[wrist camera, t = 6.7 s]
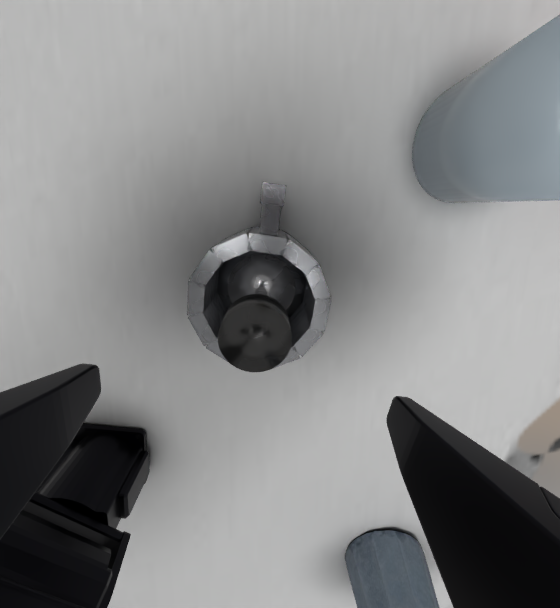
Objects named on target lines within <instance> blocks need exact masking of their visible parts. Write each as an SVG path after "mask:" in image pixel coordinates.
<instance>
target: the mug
mask: <svg viewBox="0 0 560 608" xmlns="http://www.w3.org/2000/svg"><path fill="white" fill-rule="evenodd" d="M412 161H413V168H414V171H415V175H416V177H417V179H418V181H419V183H420V185H421V186H422V188H423V189H424V190H425V191H426V192H427V193H428V194H429V195H431V196H432V197H434V198H436V199H438V200H440V201H444V202H449V203H471V202H510V201H548V200H560V15H558V16H557V17H555V18H554V19H552V20H551V21H549V22H548V23H546V24H545V25H543V26H542V27H540V28H539V29H537V30H536V31H534V32H533V33H532V34H530V35H529V36H527V37H526V38H524V39H523V40H521V41H520V42H518V43H517V44H515V45H514V46H512V47H511V48H509V49H508V50H506V51H505V52H503V53H502V54H500V55H499V56H497V57H496V58H494V59H493V60H491V61H490V62H488V63H487V64H485V65H484V66H482V67H481V68H479V69H478V70H476V71H475V72H473V73H472V74H470V75H469V76H468V77H466V78H465V79H463V80H462V81H460V82H459V83H457V84H456V85H454V86H453V87H451V88H450V89H448V90H447V91H445V92H444V93H443V94H441V95H440V96H439V97H438V98H437V99H436V100H435V101H434V102H433V103H432V104H431V106H430V107H429V108H428V110H427V111H426V112H425V114H424V116H423V118H422V119H421V121H420V124H419V126H418V128H417V131H416V134H415V138H414V142H413V150H412Z"/></svg>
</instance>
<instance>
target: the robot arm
mask: <svg viewBox="0 0 560 608" xmlns="http://www.w3.org/2000/svg"><path fill="white" fill-rule="evenodd" d="M100 392H101V383H100V373H99V368H98V366H96V365H92V364H79V365H76V366H73V367H71V368H68V369H65V370H62V371H59V372H57V373H54V374H51V375H48V376H45V377H43V378H40V379H37V380H34V381H31V382H29V383H26V384H23V385H20V386H17V387H15V388H12V389H9V390H6V391H3V392H1V393H0V608H107V607H108V604H109V602H110V599H111V596H112V593H113V590H114V587H115V584H116V581H117V577H118V574H119V571H120V568H121V564H122V561H123V558H124V555H125V552H126V548H127V545H128V542H129V539H130V535H131V534H129V533H127V532H125V531H124V532H121V531H119V530H117V529H116V528H117V526H118V523H119V521H120V519H121V518H127V517H128V516H129V515H130V513H131V511H132V508H133V506H134V504H135V502H136V500H137V498H138V495H139V493H140V491H141V489H142V487H143V485H144V484H145V482H146V480H147V476H148V474H149V453H148V451H147V449H146V432H145V431H144V430H143V429H135V428H124V427H112V426H101V425H89V424H83V422H84V421H85V419H86V417H87V416H88V414H89V412H90V411H91V409H92V407H93V406H94V404H95V402H96V401H97V399H98V397H99V395H100ZM387 426H388V430H389V433H390V437H391V440H392V444H393V447H394V451H395V454H396V458H397V461H398V465H399V468H400V471H401V474H402V477H403V479H404V482H405V485H406V487H407V490H408V492H409V495H410V498H411V500H412V503H413V505H414V508H415V510H416V513H417V515H418V518H419V520H420V523H421V526H422V528H423V531H424V533H425V536H426V538H427V541H428V543H429V546H430V549H431V551H432V554H433V556H434V559H435V561H436V564H437V566H438V569H439V571H440V574H441V577H442V579H443V582H444V584H445V587H446V589H447V592H448V594H449V597H450V600H451V602H452V605H453V607H454V608H560V498H558V497H557V496H555V495H554V494H552V493H550V492H549V491H548V490H546V489H545V488H543V487H539V485H538V484H537V483H535V482H534V481H533V480H531V479H530V478H528V477H527V476H525V475H524V474H522V473H521V472H519V471H518V470H516V469H515V468H513V467H512V466H510V465H509V464H507V463H506V462H504V461H503V460H501V459H500V458H498V457H497V456H495V455H494V454H492V453H491V452H489V451H488V450H486V449H485V448H483V447H482V446H480V445H479V444H477V443H476V442H474V441H473V440H471V439H470V438H468V437H467V436H465V435H464V434H462V433H461V432H459V431H458V430H457V429H455V428H454V427H452V426H451V425H449V424H448V423H446V422H445V421H443V420H442V419H440V418H439V417H437V416H436V415H434V414H433V413H431V412H430V411H428V410H427V409H425V408H424V407H422V406H421V405H419V404H418V403H416V402H415V401H413V400H412V399H410V398H408V397H401V396H396V397H394V398H393V400H392V403H391V406H390V409H389V412H388V415H387Z"/></svg>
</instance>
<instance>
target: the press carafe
mask: <svg viewBox="0 0 560 608" xmlns="http://www.w3.org/2000/svg"><path fill="white" fill-rule="evenodd" d="M285 192H286V185H280V184H274V183H267V182H263V183H262V192H261V201H260V203H262V211H261V220H260V227H254V228H253V227H251V228H249V229H247V230H244V231H242V232H240V233H237V234H235V235H232V236H230V237H228V238H226V239H224V240H223V241H221V242H220V243H218V244H217V245H215V246H214V247H212V248H211V249H210V250H209V251H208V252H207V254H206V255H205V257H204V258H203V259H202V261H201V262H200V264H199V265H198V267H197V268H196V270H195V271H194V273H193V274H192V275H191V277H190V278H189V279H190V280H189V281H188V305H187V315H190V316H189V317H188V319H189V320H190V322H191V324H192V326H193V328H194V329H195V331H196V333H197V335H198V336H199V338H200V340H201V342H202V343H203V345H204V346H205V345H207V346H206V348H207V349H208V350H210V351H212V352H213V353H215V354H216V355H218V356H219V357H221V358H223V359H224V360H226V359H225V358H224V356H223V355H222V353H221V351H220V349H219V345H218V331H219V328H220V325H221V323H222V321H223V319H224V316H225V314H226V312H227V310H228V308H229V307H230V306H231V304H232V302H231V300H230V297H229V294H228V279H229V276H230V274H231V272H232V270H233V268H234V267H235V266H236V264H237V263H238V262H239V261H241V260H242V259H243V258H245V257H247V256H250V255H253V254H259V253H264V254H270V255H273V256H276V257H278V258H279V259H281V260H282V261H283V262H285V263H286V265H287V266H288V267H289V268H290V270H291V272H292V274H293V277H294V280H295V295H294V298H293V301H292V303H291V304H290V306H289V307H288V308H287V309H286V312H287V314H288V317H289V322H290V328H291V335H292V344H291V348H290V351H289V353H288V355H287V357H286V358H285V359H284V360H283V361H282V362H281V363H280V364H279V365H277V366H280V365H283V364H286V363H288V362H291V361H294V360H297V359H299V358H300V356H302V357H303V355H304V354H305V353H306V352H307V351H308V350H309V349H310V348H311V347H312V346H313V344H314V343H315V342H316V341H317V340H318V339H319V338H320V337H321V336H322V335H323V331H325V327H326V323H327V318H328V314H329V309H330V304H331V298H330V297H331V295H330V292H329V289H328V286H327V284H326V281H325V278H324V275H323V272H322V269H321V267H320V265H319V263H318V262H317V261H316V259H315V258H314V257H313V256H312V255H311V253H310V252H309V251H308V250H307V249H306V248H305V247H304V246H302V245H301V244H300V243H299V242H297V241H296V240H295V239H294V238H292V237H291V236H290V235H289V234H288V233H286V232H285V233H284V231H281V230H278V228H279V220H280V213H281V207H283V206H284V199H285ZM226 361H227V360H226ZM227 362H228V361H227ZM277 366H276V367H277ZM274 368H275V367H274Z"/></svg>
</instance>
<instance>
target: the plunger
mask: <svg viewBox="0 0 560 608" xmlns="http://www.w3.org/2000/svg"><path fill="white" fill-rule="evenodd" d="M228 294H229V297H230V300H231V302H232V304H231V306H230V307H229V308H228V310H227V312H226V314H225V316H224V319H223V321H222V323H221V325H220V328H219V331H218V345H219V349H220V351H221V353H222V355H223V356H224V358H225V359H226V360H227V361H228V362H229V363H230V364H232V365H233V366H235V367H237V368H239V369H241V370H244V371H249V372H262V371H267V370H270V369H272V368H274V367H276V366H277V365H279V364H280V363H281V362H282V361H283V360H284V359H285V358H286V357H287V355H288V353H289V351H290V348H291V344H292V335H291V328H290V322H289V317H288V314H287V312H286V309H287V308H288V307H289V306H290V304H291V303H292V301H293V298H294V295H295V280H294V277H293V274H292V272H291V270H290V268H289V267H288V266H287V265H286V263H285V262H283V261H282V260H281V259H279V258H278V257H276V256H273V255H270V254H264V253H259V254H253V255H250V256H247V257H245V258H243V259H242V260H241V261H239V262H238V263H237V264H236V266H235V267H234V268H233V270H232V272H231V274H230V276H229V279H228Z"/></svg>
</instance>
